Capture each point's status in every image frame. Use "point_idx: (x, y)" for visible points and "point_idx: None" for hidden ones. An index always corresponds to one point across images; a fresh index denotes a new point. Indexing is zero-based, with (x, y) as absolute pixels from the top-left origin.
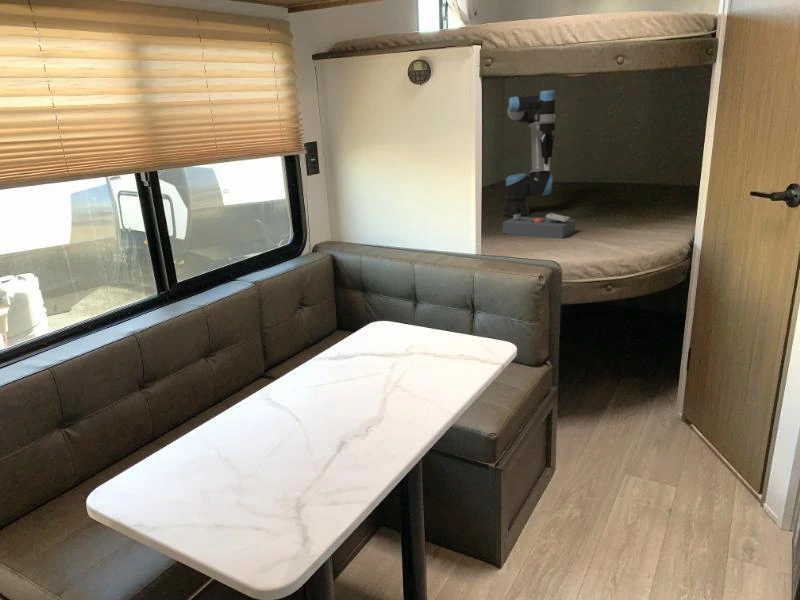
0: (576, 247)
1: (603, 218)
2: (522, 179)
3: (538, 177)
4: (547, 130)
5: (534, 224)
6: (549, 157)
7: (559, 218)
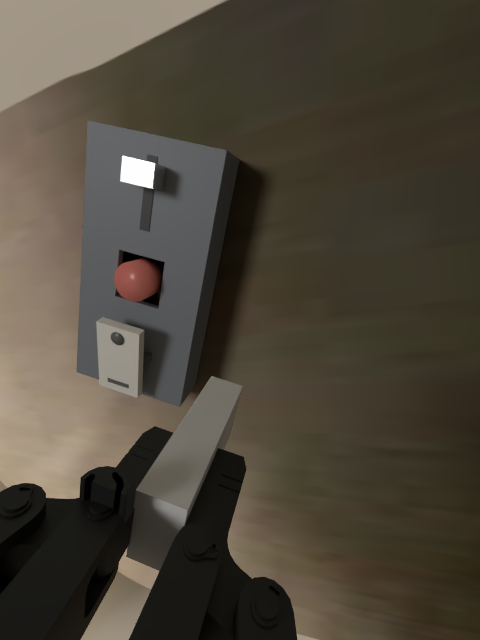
0: (33, 390)
1: (435, 474)
2: None
3: None
4: None
5: (81, 274)
6: (149, 564)
7: (99, 367)
